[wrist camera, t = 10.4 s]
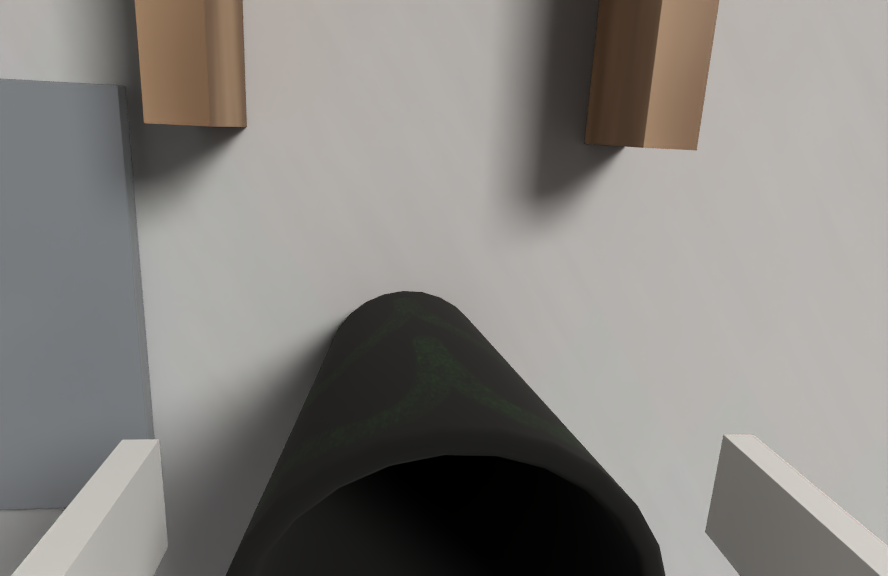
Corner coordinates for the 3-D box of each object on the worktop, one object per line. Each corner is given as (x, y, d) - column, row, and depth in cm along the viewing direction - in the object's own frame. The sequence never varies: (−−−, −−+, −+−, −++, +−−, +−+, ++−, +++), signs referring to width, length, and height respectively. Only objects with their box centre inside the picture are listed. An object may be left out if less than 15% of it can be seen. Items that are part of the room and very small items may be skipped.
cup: (250, 367, 21) (101, 669, 9) (408, 214, 20) (462, 334, 8) (405, 498, 23) (441, 876, 11) (553, 363, 22) (753, 621, 11)
